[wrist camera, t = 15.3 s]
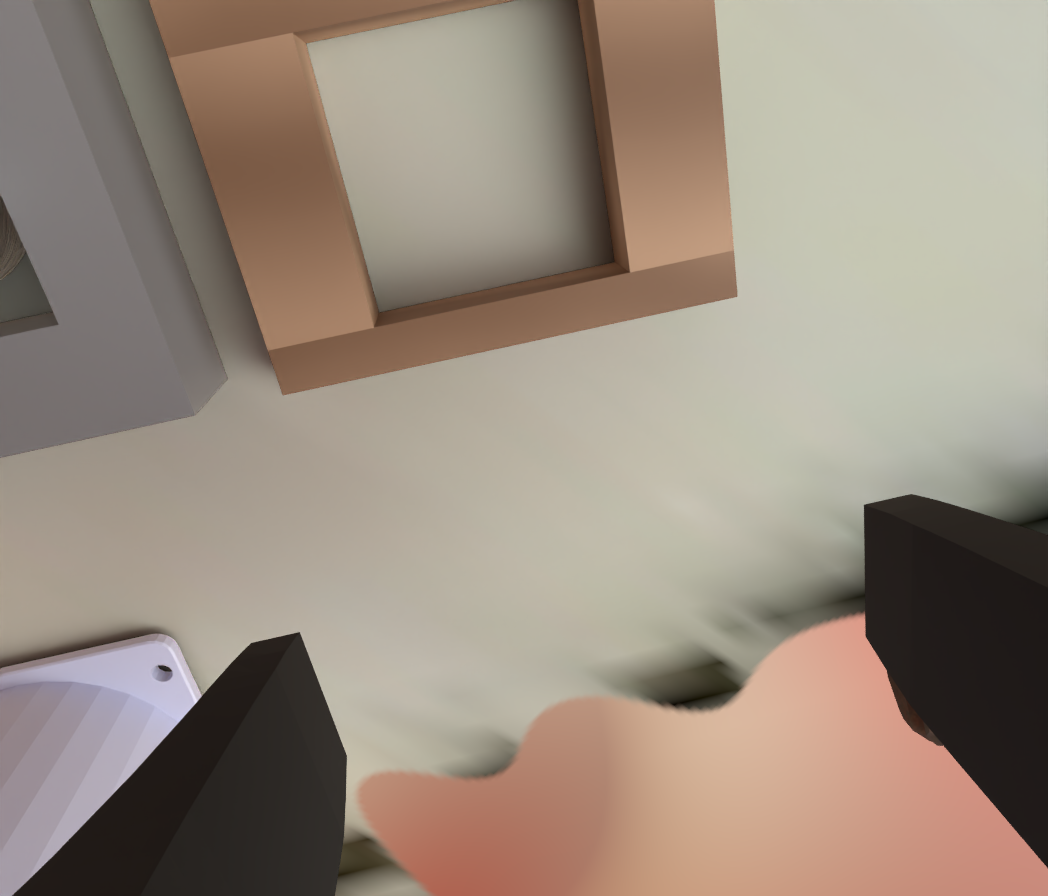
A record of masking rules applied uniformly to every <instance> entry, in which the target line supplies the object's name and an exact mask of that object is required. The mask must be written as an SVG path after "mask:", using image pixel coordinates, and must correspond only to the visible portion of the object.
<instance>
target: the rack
mask: <svg viewBox="0 0 1048 896" xmlns="http://www.w3.org/2000/svg"><path fill="white" fill-rule="evenodd" d="M0 194H1V197H2V199H3V201H4V203H5V205H6V208H7V210H8V212H9V214H10V217H11V219H12V221H13V223H14V226H15V228H16V230H17V232H18V234H19V237H20V239H21V241H22V243H23V246H24V248H25V250H26V252H27V255H28V257H29V259H30V261H31V264H32V266H33V268H34V270H35V272H36V275H37V277H38V279H39V281H40V284H41V286H42V288H43V290H44V293H45V295H46V297H47V299H48V301H49V304H50V306H51V308H52V310H53V312H49V313H45V314H40V315H35V316H30V317H26V318H21V319H16V320H12V321H7V322H2V323H0V458H1V457H6V456H10V455H15V454H20V453H24V452H29V451H33V450H38V449H43V448H47V447H52V446H56V445H61V444H66V443H70V442H75V441H79V440H84V439H89V438H93V437H98V436H102V435H107V434H112V433H116V432H121V431H126V430H130V429H135V428H139V427H144V426H149V425H153V424H158V423H162V422H167V421H172V420H176V419H181V418H185V417H190V416H195V415H196V414H197V413H198V412H199V410H200V409H201V408H202V407H203V406H204V405H205V404H206V403H207V402H208V400H209V399H210V398H211V397H212V396H213V395H214V394H215V393H216V391H217V390H218V389H219V388H220V387H221V386H222V385H223V384H224V382H225V381H226V380H227V379H228V378H227V376H226V373H225V370H224V368H223V365H222V362H221V359H220V357H219V354H218V351H217V348H216V346H215V343H214V340H213V338H212V335H211V332H210V329H209V327H208V324H207V321H206V318H205V316H204V313H203V310H202V308H201V305H200V302H199V299H198V297H197V294H196V291H195V288H194V286H193V283H192V280H191V278H190V275H189V272H188V269H187V267H186V264H185V261H184V259H183V256H182V253H181V250H180V248H179V245H178V242H177V239H176V237H175V234H174V231H173V229H172V226H171V223H170V220H169V218H168V215H167V212H166V209H165V207H164V204H163V201H162V199H161V196H160V193H159V190H158V188H157V185H156V182H155V179H154V177H153V174H152V171H151V169H150V166H149V163H148V160H147V158H146V155H145V152H144V149H143V147H142V144H141V141H140V139H139V136H138V133H137V130H136V128H135V125H134V122H133V120H132V117H131V114H130V111H129V109H128V106H127V103H126V100H125V98H124V95H123V92H122V90H121V87H120V84H119V81H118V79H117V76H116V73H115V70H114V68H113V65H112V62H111V60H110V57H109V54H108V51H107V49H106V46H105V43H104V40H103V38H102V35H101V32H100V30H99V27H98V24H97V21H96V19H95V16H94V13H93V11H92V8H91V5H90V2H89V0H0Z"/></svg>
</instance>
